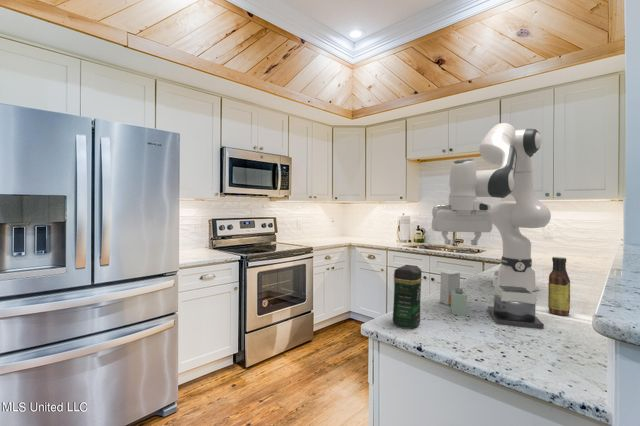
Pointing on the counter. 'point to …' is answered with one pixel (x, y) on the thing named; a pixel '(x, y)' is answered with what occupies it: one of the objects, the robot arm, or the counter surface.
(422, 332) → the counter surface
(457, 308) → the pale green block
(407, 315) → the coffee jar
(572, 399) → the counter surface
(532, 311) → the framed dark dome
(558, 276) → the sauce bottle
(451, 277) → the skincare box
